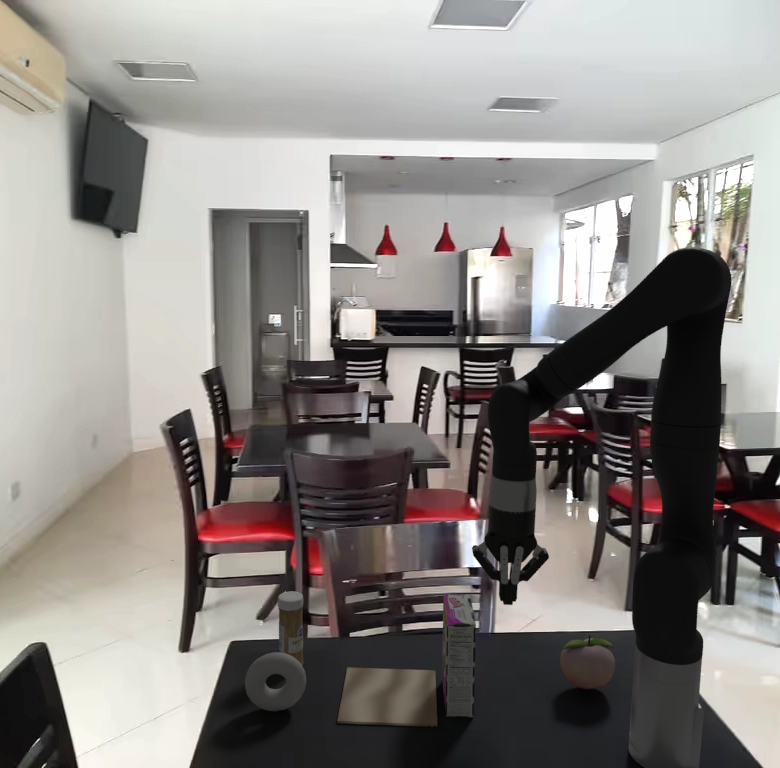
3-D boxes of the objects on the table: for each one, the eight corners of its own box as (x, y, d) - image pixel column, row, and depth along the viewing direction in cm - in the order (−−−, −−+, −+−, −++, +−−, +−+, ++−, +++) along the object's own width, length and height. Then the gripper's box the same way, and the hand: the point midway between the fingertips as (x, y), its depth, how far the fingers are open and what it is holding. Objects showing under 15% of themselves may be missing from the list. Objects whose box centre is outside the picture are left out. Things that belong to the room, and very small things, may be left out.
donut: (244, 718, 117) (243, 660, 115) (245, 705, 120) (244, 649, 119) (306, 714, 118) (306, 657, 116) (306, 701, 121) (306, 646, 120)
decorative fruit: (577, 708, 120) (581, 652, 119) (551, 682, 128) (554, 629, 127) (625, 698, 123) (628, 643, 122) (596, 673, 131) (599, 621, 130)
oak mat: (435, 672, 131) (435, 670, 131) (437, 726, 115) (437, 724, 115) (347, 669, 131) (347, 667, 131) (337, 723, 116) (337, 720, 115)
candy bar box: (440, 680, 128) (442, 593, 126) (468, 681, 128) (471, 593, 126) (443, 718, 117) (446, 623, 115) (474, 719, 117) (477, 624, 115)
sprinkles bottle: (301, 671, 130) (300, 601, 128) (276, 670, 131) (275, 600, 129) (305, 658, 135) (305, 590, 133) (281, 657, 135) (280, 589, 133)
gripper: (473, 508, 114) (469, 611, 116) (557, 511, 113) (551, 615, 116) (470, 494, 121) (466, 591, 124) (549, 496, 121) (543, 594, 123)
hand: (507, 602), depth 120 cm, fingers closed
